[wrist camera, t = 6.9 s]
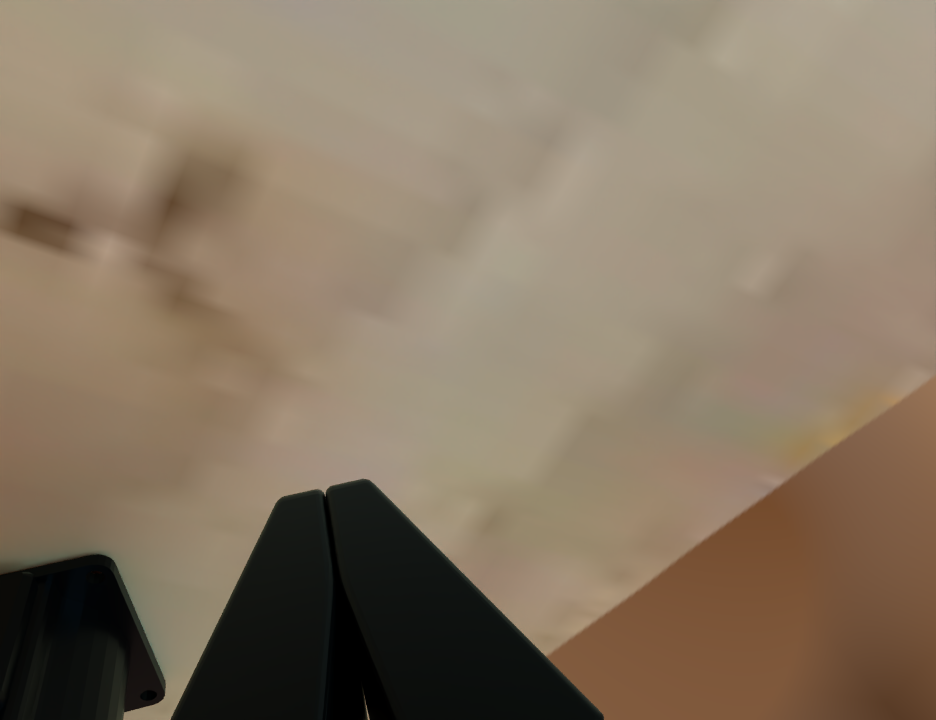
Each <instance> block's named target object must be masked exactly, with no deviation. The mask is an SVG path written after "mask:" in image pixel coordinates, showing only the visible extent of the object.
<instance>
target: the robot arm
mask: <svg viewBox="0 0 936 720" xmlns="http://www.w3.org/2000/svg"><path fill="white" fill-rule="evenodd" d="M92 571H99V572H102V573H100V574H94V573H91V572H92ZM165 688H166V682H165V679H164V677H163V674H162V672H161V670H160V667H159V665H158V663H157V660H156V658H155V655H154V653H153V651H152V648H151V646H150V644H149V641H148V639H147V637H146V634H145V632H144V630H143V627H142V625H141V623H140V620H139V618H138V616H137V613H136V611H135V608H134V606H133V604H132V601H131V599H130V597H129V594H128V592H127V590H126V587H125V585H124V583H123V580H122V578H121V576H120V573H119V571H118V569H117V566H116V564H115V562H114V561H113V560H112V559H111V558H109V557H107V556H104V555H90V556H86V557H81V558H76V559H72V560H67V561H63V562H58V563H54V564H49V565H45V566H40V567H35V568H31V569H26V570H22V571H17V572H13V573H8V574H4V575H0V720H123V716H124V712H127V711H131V710H135V709H139V708H142V707H146V706H150V705H154V704H156V703H159V702H160V701H161V700H162V699H163V698H164V696H165ZM364 696H365V698H364ZM365 701H366V704H365ZM366 705H367V710H368V714H369V719H370V720H604V716H603V714H602V713H601V712H600V711H599V710H598V709H597V708H596V707H595V706H594V705H593V704H592V703H591V702H590V701H589V700H588V699H587V698H586V697H585V696H584V695H583V694H582V693H581V692H580V691H579V690H578V689H577V688H576V687H575V686H574V685H573V684H572V683H571V682H570V681H569V680H568V679H567V678H566V677H565V676H564V675H563V673H562V672H561V671H559V669H558V668H557V667H555V665H553V663H551V661H550V660H549V659H548V658H547V657H546V656H545V655H544V654H543V653H542V652H541V651H540V650H539V649H538V648H537V647H536V646H535V645H534V644H533V643H532V642H531V641H530V640H529V639H528V638H527V637H526V636H525V635H524V634H523V633H522V632H521V631H520V630H519V629H518V628H517V627H516V626H515V625H514V624H513V623H512V622H511V621H510V620H509V619H508V618H507V617H506V616H505V615H504V614H503V613H502V612H501V611H500V610H499V609H498V608H497V607H496V606H495V605H494V604H493V603H492V602H491V601H490V600H489V599H488V598H487V597H486V596H485V595H484V594H483V593H482V592H481V591H480V590H479V589H478V588H477V587H476V586H475V585H474V584H473V583H472V582H471V581H470V580H469V579H468V578H467V577H466V576H465V575H464V574H463V573H462V572H461V571H460V570H459V569H458V568H457V567H456V566H455V565H454V564H453V563H452V562H451V561H450V560H449V559H448V558H447V557H446V556H445V555H444V554H443V553H442V552H441V551H440V550H439V549H438V548H437V547H436V546H435V545H434V544H433V543H432V542H431V541H430V540H429V539H428V538H427V537H426V536H425V535H424V534H423V533H422V532H421V531H420V530H419V529H418V528H417V527H416V526H415V525H414V524H413V523H412V522H411V521H410V519H409V518H408V517H407V516H406V515H405V514H404V513H403V512H402V511H401V510H400V509H399V508H398V507H397V506H396V505H395V504H394V503H393V502H392V501H391V500H390V499H389V498H388V497H387V496H386V495H385V494H384V493H383V492H382V491H381V490H380V489H379V488H378V487H377V486H376V485H375V484H374V483H372V482H371V481H370V480H367V479H360V480H356V481H351V482H347V483H342V484H338V485H333V486H330V487H329V488H328V489H327V491H326V497H325V494H324V493H323V492H322V491H321V490H318V489H315V490H311V491H306V492H302V493H297V494H293V495H288V496H284V497H282V498H280V499H279V500H278V501H277V503H276V504H275V506H274V508H273V510H272V512H271V514H270V516H269V518H268V521H267V523H266V525H265V527H264V529H263V531H262V533H261V535H260V537H259V539H258V541H257V543H256V545H255V547H254V549H253V551H252V553H251V555H250V558H249V560H248V562H247V564H246V566H245V568H244V570H243V572H242V574H241V576H240V578H239V580H238V582H237V584H236V586H235V588H234V590H233V592H232V594H231V597H230V599H229V601H228V603H227V605H226V607H225V609H224V611H223V613H222V615H221V617H220V619H219V621H218V623H217V625H216V627H215V629H214V631H213V633H212V636H211V638H210V640H209V642H208V644H207V646H206V648H205V650H204V652H203V654H202V656H201V658H200V660H199V662H198V664H197V666H196V668H195V670H194V672H193V675H192V677H191V679H190V681H189V683H188V685H187V687H186V689H185V691H184V693H183V695H182V697H181V699H180V701H179V703H178V705H177V707H176V709H175V712H174V714H173V716H172V718H171V720H368V718H367V711H366Z"/></svg>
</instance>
